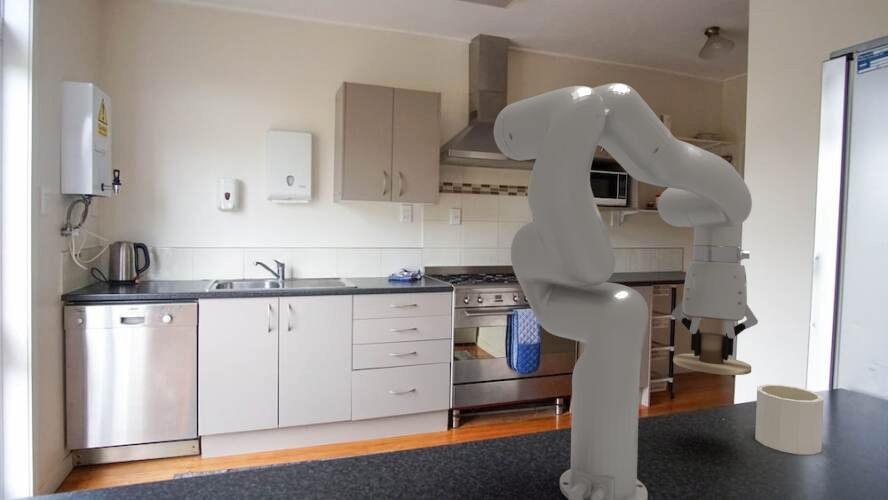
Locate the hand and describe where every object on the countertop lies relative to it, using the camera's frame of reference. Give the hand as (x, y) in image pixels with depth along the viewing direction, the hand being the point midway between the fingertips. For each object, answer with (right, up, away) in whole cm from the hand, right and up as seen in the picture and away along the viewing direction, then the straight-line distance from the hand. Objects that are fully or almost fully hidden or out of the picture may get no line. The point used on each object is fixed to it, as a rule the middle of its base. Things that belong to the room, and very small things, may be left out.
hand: (711, 355), depth 93 cm
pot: (+16, -17, +3) cm, 23 cm away
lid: (0, -2, 0) cm, 2 cm away
